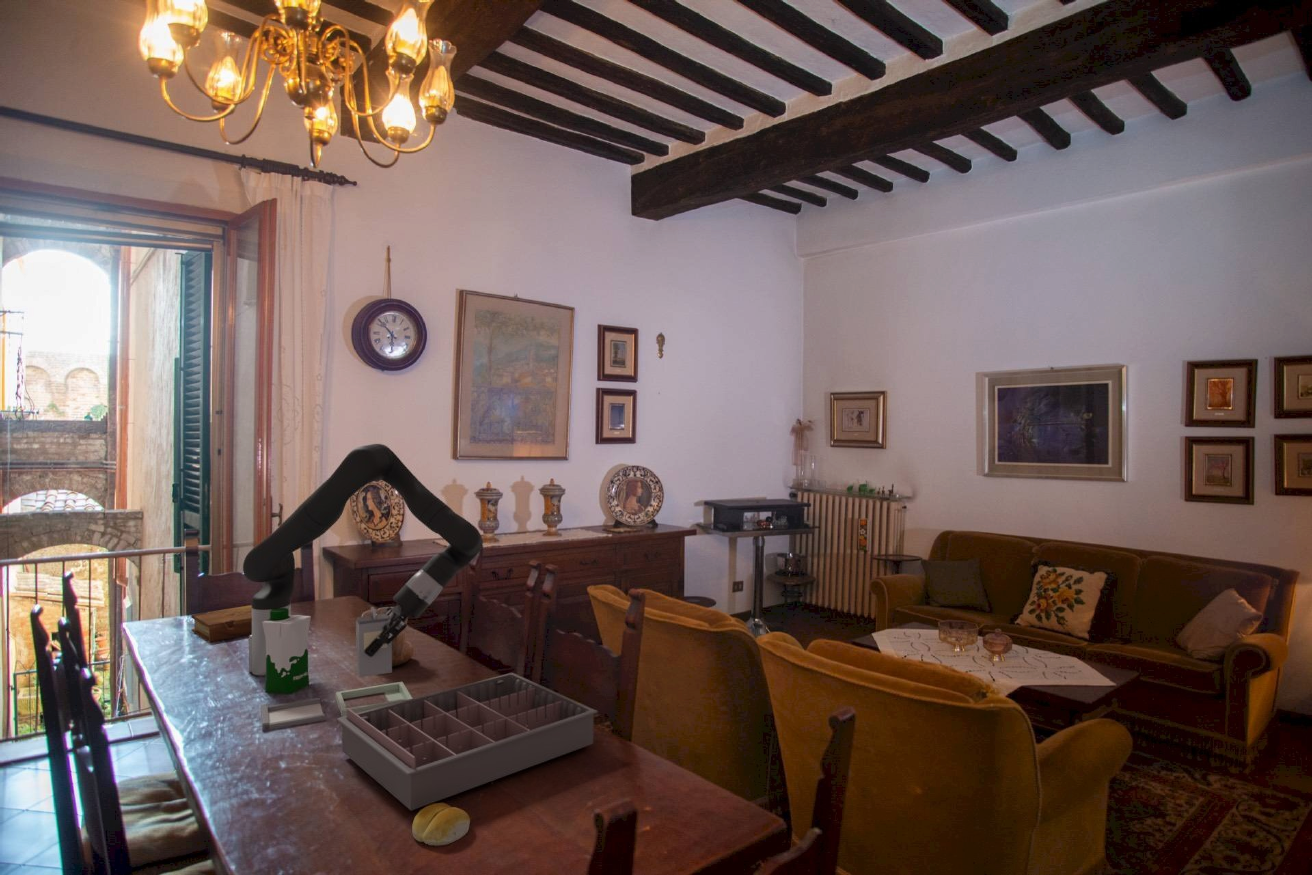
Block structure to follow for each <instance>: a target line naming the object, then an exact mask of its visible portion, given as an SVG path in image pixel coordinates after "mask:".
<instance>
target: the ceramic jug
mask: <svg viewBox="0 0 1312 875" xmlns="http://www.w3.org/2000/svg"><path fill="white" fill-rule="evenodd" d="M388 607H390V608H392V609H393V608H394V607H395V606H386V607H379V608H378V609H377V608H375V610H376V615H380V614H383V613H384V612H385V611H386V610H387V608H388ZM364 616H371V609H368V610H366V611H364V612H363V613H362V614H361V617H364ZM408 619H409V617H408V618H407V620H406V621H405V624H406V625H407V623H408ZM405 629H406V628H405ZM405 629H404V630H403V631H402V632H401V633H399V634H398V635H397V636H396V637H395V638H394V639H393V640H392V668H393V667H396V666H399V665H402V664H404V663H406V662H407V661H409V660H410V659H412V656H413V654H414V647H413V644H412V643H411V642H410V641H408V640H406V634H405V633H406V632H405Z"/></svg>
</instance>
